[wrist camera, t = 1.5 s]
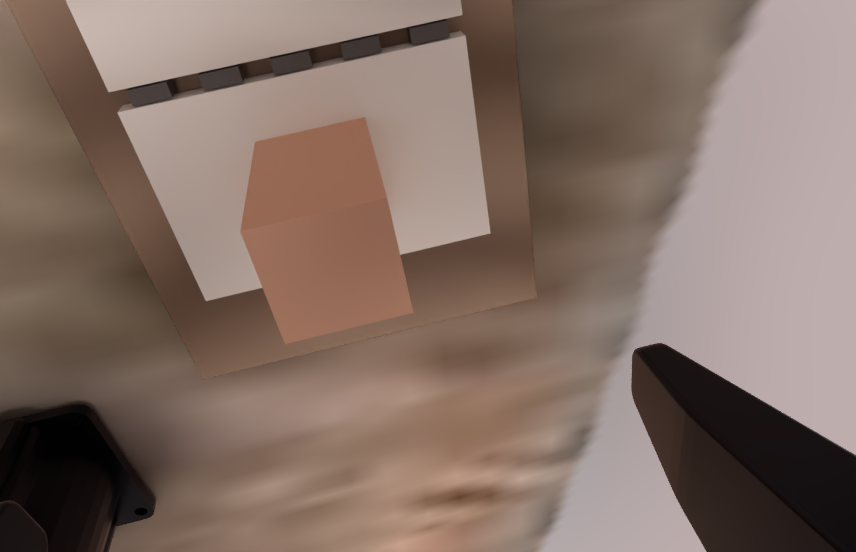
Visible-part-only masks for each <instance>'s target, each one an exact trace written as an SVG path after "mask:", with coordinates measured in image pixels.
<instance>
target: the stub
mask: <svg viewBox="0 0 856 552" xmlns="http://www.w3.org/2000/svg"><path fill="white" fill-rule="evenodd" d="M449 34H450V37H446V38H441V39H437V40H432V41H428V42H423V43H419V44H414V45H412V44H411V42H408V43H403V44H399V45H394V46H390V47H385V48H381V50H382V52H378V53H373V54H369V55H364V56H360V57H355V58H351V59H346V60H343V57H340V58H335V59H330V60H326V61H321V62H317V63H313V67H310V68H305V69H301V70H296V71H292V72H287V73H283V74H278V75H274V73H273V72H271V73H267V74H262V75H258V76H253V77H249V78H244V81H243V82H242V83H237V84H233V85H228V86H223V87H219V88H214V89H210V90H205V91H204V90H203V88H199V89H194V90H190V91H185V92H180V93H176V94H174V96H173V98H169V99H164V100H160V101H155V102H151V103H146V104H142V105H137V106H132V104H131V103H130V104H126V105H123V106H122V107H121V108H120V110H119V111H118V112H117V113H118V115H119V117H120V119H121V121H122V124H123V126H124V128H125V130H126V132H127V134H128V136H129V138H130V141H131V143H132V145H133V147H134V149H135V151H136V153H137V156H138V158H139V160H140V162H141V164H142V166H143V168H144V170H145V173H146V175H147V177H148V179H149V181H150V183H151V185H152V187H153V190H154V192H155V194H156V196H157V198H158V200H159V202H160V205H161V207H162V209H163V211H164V213H165V215H166V217H167V219H168V222H169V224H170V226H171V228H172V230H173V232H174V234H175V236H176V239H177V241H178V243H179V245H180V247H181V249H182V251H183V254H184V256H185V258H186V260H187V262H188V264H189V266H190V268H191V271H192V273H193V275H194V277H195V279H196V281H197V283H198V285H199V288H200V290H201V292H202V294H203V296H204V298H205V300H206V301H209V300H213V299H217V298H222V297H226V296H230V295H234V294H238V293H243V292H247V291H251V290H255V289H259V288H263V290H264V293H265V295H266V298H267V300H268V303H269V305H270V308H271V311H272V313H273V316H274V318H275V321H276V323H277V326H278V328H279V331H280V333H281V336H282V338H283V341H284V343H285V344H288V343H292V342H296V341H300V340H304V339H308V338H312V337H316V336H321V335H325V334H329V333H333V332H337V331H341V330H345V329H349V328H353V327H357V326H362V325H366V324H370V323H374V322H378V321H382V320H386V319H390V318H394V317H398V316H403V315H407V314H411V313H413V308H412V304H411V300H410V295H409V291H408V287H407V282H406V278H405V273H404V269H403V265H402V260H401V256H400V255H402V254H406V253H410V252H414V251H419V250H423V249H427V248H431V247H435V246H440V245H444V244H448V243H452V242H456V241H461V240H465V239H469V238H473V237H477V236H482V235H486V234H490V225H489V217H488V209H487V201H486V193H485V185H484V177H483V169H482V162H481V154H480V146H479V138H478V130H477V122H476V114H475V106H474V98H473V90H472V82H471V74H470V66H469V59H468V51H467V43H466V36H465V35H464V34H463V33H462V32H461V31H458V32H453V33H449Z"/></svg>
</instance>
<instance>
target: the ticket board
mask: <svg viewBox="0 0 856 552" xmlns="http://www.w3.org/2000/svg"><path fill="white" fill-rule="evenodd" d="M6 2H7V4H8V6H9V8H10V10H11V12H12V14H13V16H14V18H15V20H16V22H17V24H18V25H19V27H20V29H21V31H22V33H23V35H24V37H25V39H26V41H27V43H28V45H29V47H30V48H31V50H32V52H33V54H34V56H35V58H36V60H37V62H38V64H39V66H40V68H41V70H42V72H43V73H44V75H45V77H46V79H47V81H48V83H49V85H50V87H51V89H52V91H53V93H54V95H55V97H56V98H57V100H58V102H59V104H60V106H61V108H62V110H63V112H64V114H65V116H66V118H67V120H68V121H69V123H70V125H71V127H72V129H73V131H74V133H75V135H76V137H77V139H78V141H79V143H80V145H81V146H82V148H83V150H84V152H85V154H86V156H87V158H88V160H89V162H90V164H91V166H92V168H93V169H94V171H95V173H96V175H97V177H98V179H99V181H100V183H101V185H102V187H103V189H104V191H105V193H106V194H107V196H108V198H109V200H110V202H111V204H112V206H113V208H114V210H115V212H116V214H117V216H118V218H119V219H120V221H121V223H122V225H123V227H124V229H125V231H126V233H127V235H128V237H129V239H130V241H131V242H132V244H133V246H134V248H135V250H136V252H137V254H138V256H139V258H140V260H141V262H142V264H143V266H144V267H145V269H146V271H147V273H148V275H149V277H150V279H151V281H152V283H153V285H154V287H155V289H156V290H157V292H158V294H159V296H160V298H161V300H162V302H163V304H164V306H165V308H166V310H167V312H168V314H169V315H170V317H171V319H172V321H173V323H174V325H175V327H176V329H177V331H178V333H179V335H180V337H181V339H182V340H183V342H184V344H185V346H186V348H187V350H188V352H189V354H190V356H191V358H192V360H193V362H194V363H195V365H196V367H197V369H198V371H199V373H200V375H201V377H202V379H207V378H211V377H215V376H219V375H223V374H227V373H232V372H236V371H240V370H244V369H248V368H252V367H256V366H260V365H264V364H268V363H272V362H276V361H281V360H285V359H289V358H293V357H297V356H301V355H305V354H309V353H313V352H317V351H321V350H325V349H329V348H334V347H338V346H342V345H346V344H350V343H354V342H358V341H362V340H366V339H370V338H374V337H378V336H382V335H387V334H391V333H395V332H399V331H403V330H407V329H411V328H415V327H419V326H423V325H427V324H431V323H436V322H440V321H444V320H448V319H452V318H456V317H460V316H464V315H468V314H472V313H476V312H480V311H484V310H489V309H493V308H497V307H501V306H505V305H509V304H513V303H517V302H521V301H525V300H529V299H533V298H537V295H536V283H535V270H534V258H533V246H532V234H531V222H530V209H529V197H528V185H527V173H526V161H525V148H524V136H523V124H522V112H521V100H520V87H519V75H518V63H517V51H516V39H515V26H514V14H513V2H512V0H6ZM458 31H461V32H462V33H463V34H464V35H465V36H466V43H467V51H468V59H469V66H470V74H471V82H472V90H473V98H474V106H475V114H476V122H477V130H478V138H479V146H480V154H481V162H482V169H483V177H484V185H485V193H486V201H487V209H488V217H489V225H490V234H486V235H482V236H477V237H473V238H469V239H465V240H461V241H456V242H452V243H448V244H444V245H440V246H435V247H431V248H427V249H423V250H419V251H414V252H410V253H406V254H402V255H400V256H401V260H402V265H403V269H404V273H405V278H406V282H407V287H408V291H409V295H410V300H411V304H412V308H413V313H411V314H407V315H403V316H398V317H394V318H390V319H386V320H382V321H378V322H374V323H370V324H366V325H362V326H357V327H353V328H349V329H345V330H341V331H337V332H333V333H329V334H325V335H321V336H316V337H312V338H308V339H304V340H300V341H296V342H292V343H288V344H285V343H284V341H283V338H282V336H281V333H280V331H279V328H278V326H277V323H276V321H275V318H274V316H273V313H272V311H271V308H270V305H269V303H268V300H267V298H266V295H265V293H264V290H263V288H259V289H255V290H251V291H247V292H243V293H238V294H234V295H230V296H226V297H222V298H217V299H213V300H209V301H206V300H205V298H204V296H203V294H202V292H201V290H200V288H199V285H198V283H197V281H196V279H195V277H194V275H193V273H192V271H191V268H190V266H189V264H188V262H187V260H186V258H185V256H184V254H183V251H182V249H181V247H180V245H179V243H178V241H177V239H176V236H175V234H174V232H173V230H172V228H171V226H170V224H169V222H168V219H167V217H166V215H165V213H164V211H163V209H162V207H161V205H160V202H159V200H158V198H157V196H156V194H155V192H154V190H153V187H152V185H151V183H150V181H149V179H148V177H147V175H146V173H145V170H144V168H143V166H142V164H141V162H140V160H139V158H138V156H137V153H136V151H135V149H134V147H133V145H132V143H131V141H130V138H129V136H128V134H127V132H126V130H125V128H124V126H123V124H122V121H121V119H120V117H119V115H118V113H117V112H118V111H119V110H120V108H121V107H122V106H123V105H126V104H130V103H131V104H132V106H137V105H142V104H146V103H151V102H155V101H160V100H164V99H169V98H173V96H174V94H176V93H180V92H185V91H190V90H194V89H199V88H203V90H204V91H205V90H210V89H214V88H219V87H223V86H228V85H233V84H237V83H242V82H243V81H244V78H249V77H253V76H258V75H262V74H267V73H271V72H273V73H274V75H278V74H283V73H287V72H292V71H296V70H301V69H305V68H310V67H313V63H317V62H321V61H326V60H330V59H335V58H340V57H343V60H346V59H351V58H355V57H360V56H364V55H369V54H373V53H378V52H382V50H381V48H385V47H390V46H394V45H399V44H403V43H408V42H411V44H412V45H414V44H419V43H423V42H428V41H432V40H437V39H441V38H446V37H450V34H449V33H453V32H458Z"/></svg>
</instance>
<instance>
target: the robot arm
mask: <svg viewBox="0 0 856 552" xmlns="http://www.w3.org/2000/svg"><path fill="white" fill-rule="evenodd" d="M631 386H632V395H633V399H634V402H635V404H636V407H637V409H638V411H639V414H640V416H641V418H642V421H643V423H644V425H645V428H646V430H647V432H648V435H649V437H650V439H651V442H652V444H653V446H654V448H655V451H656V453H657V455H658V458H659V460H660V462H661V465H662V467H663V469H664V471H665V474H666V476H667V478H668V481H669V483H670V485H671V487H672V489H673V491H674V494H675V496H676V498H677V500H678V502H679V503H680V505H681V507H682V509H683V511H684V513H685V514H686V516H687V518H688V520H689V522H690V523H691V525H692V527H693V528H694V530H695V532H696V534H697V536H698V537H699V539H700V541H701V543H702V544H703V546H704V548H705V550H706V551H707V552H856V455H854V454H853V453H851V452H849V451H847V450H846V449H844V448H842V447H841V446H839V445H837V444H835V443H834V442H832V441H830V440H829V439H827V438H825V437H823V436H822V435H820V434H818V433H817V432H815V431H813V430H811V429H810V428H808V427H806V426H805V425H803V424H801V423H799V422H798V421H796V420H794V419H793V418H791V417H789V416H787V415H785V414H784V413H782V412H781V411H779V410H777V409H775V408H774V407H772V406H770V405H768V404H767V403H765V402H763V401H762V400H760V399H758V398H756V397H755V396H753V395H751V394H750V393H748V392H746V391H745V390H742V389H741V388H739V387H738V386H736V385H734V384H732V383H731V382H729V381H727V380H725V379H724V378H722V377H720V376H719V375H717V374H715V373H713V372H712V371H710V370H708V369H707V368H705V367H703V366H702V365H700V364H698V363H696V362H695V361H693V360H691V359H689V358H688V357H686V356H684V355H683V354H681V353H679V352H677V351H676V350H674V349H672V348H671V347H669V346H667V345H665V344H662V343H657V344H653V345H648V346H644V347H641V348H637V349H635V351H634V353H633V356H632V385H631ZM74 417H78V418H81V419H76V418H74ZM155 505H156V503H155V500H154V499H153V497H152V496H151V494H150V493H149V491H148V490H147V488H146V487H145V486H144V484H143V483H142V481H141V480H140V478H139V477H138V475H137V474H136V473H135V471H134V470H133V468H132V467H131V465H130V464H129V462H128V461H127V459H126V458H125V457H124V455H123V454H122V452H121V451H120V449H119V448H118V446H117V445H116V444H115V442H114V441H113V439H112V438H111V436H110V435H109V433H108V432H107V430H106V429H105V428H104V426H103V425H102V423H101V422H100V420H99V419H98V417H97V416H96V415H95V413H94V412H93V410H91V409H90V408H89V407H87V406H85V405H79V404H77V405H71V406H67V407H62V408H58V409H54V410H50V411H46V412H42V413H38V414H34V415H30V416H26V417H22V418H18V419H13V420H9V421H5V422H1V423H0V552H109V549H110V545H111V542H112V538H113V535H114V531H115V527H116V526H119V525H123V524H127V523H131V522H135V521H139V520H143V519H147V518H149V517H151V516H152V515H153V513H154V509H155Z"/></svg>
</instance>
